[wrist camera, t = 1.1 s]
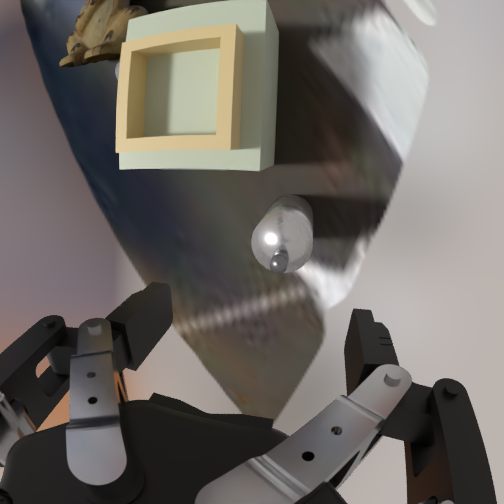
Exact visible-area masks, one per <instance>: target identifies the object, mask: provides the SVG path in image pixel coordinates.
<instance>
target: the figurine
mask: <svg viewBox="0 0 504 504" xmlns="http://www.w3.org/2000/svg"><path fill="white" fill-rule="evenodd" d="M130 3H131V0H87V1H86V2H85V4H84V5H83V7H82V9H81V12H80V15H79V16H78V17H77V19H76V31H74V32H73V33H72V34H71V35H70V36H69V38H68V40H67V49H68V54H69V55H68V56H66V57H64V58H63V59H62V60H61V61H60V63H59V64H60V67H75V66H80V65H86V64H88V63H96V62H99V61H104V60H111V59H117V58H120V57H121V48H122V43H123V42H126V36H127V29H128V22H129V20H130V19H134V18H137V17H141V16H145V15H148V12H147V10H146V9H145V8H144V7H141V6H136V5H133V6H130Z"/></svg>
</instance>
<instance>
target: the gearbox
mask: <svg viewBox="0 0 504 504" xmlns="http://www.w3.org/2000/svg"><path fill="white" fill-rule="evenodd" d="M278 53H279V31H278V28H277V26H276V23H275V20H274V17H273V14H272V12H271V9H270V6H269V4H268V1H267V0H231V1H221V2H213V3H205V4H198V5H192V6H186V7H181V8H176V9H171V10H166V11H161V12H157V13H153V14H149V15H145V16H141V17H137V18H134V19H130V20H129V22H128V29H127V36H126V42H123V43H122V48H121V57H120V62H118V64H117V65H116V69H115V74H116V77H117V79H118V93H117V113H116V153H119V160H120V169H153V168H160V169H196V170H250V171H261V170H263V169H265V168H268V167H270V166H273V165H274V155H275V133H276V109H277V83H278Z"/></svg>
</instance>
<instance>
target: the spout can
mask: <svg viewBox="0 0 504 504" xmlns="http://www.w3.org/2000/svg"><path fill="white" fill-rule="evenodd" d="M312 248H313V211H312V208H311V206H310V204H309V203H308V202H307V201H306V200H305V199H304V198H302V197H300V196H297V195H284V196H282V197H280V198H278V199H277V200H276V201H275V202H274V203H273V205H272V206H271V207H270V209H269V210H268V211H267V213H266V214H265V216H264V217H263V218H262V220H261V221H260V222H259V224H258V225H257V227H256V228H255V230H254V232H253V235H252V250H253V253H254V255H255V257H256V259H257V260H258V261H259V263H261V264H262V265H263V266H264V267H265V268H267V269H269V270H271V271H272V272H273V273H276V274H282V273H288V272H292V271H295V270H297V269H299V268H301V267H302V266H303V265H304V264H305V263H306V262H307V261H308V259H309V257H310V255H311V252H312Z"/></svg>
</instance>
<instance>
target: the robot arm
mask: <svg viewBox="0 0 504 504" xmlns="http://www.w3.org/2000/svg"><path fill="white" fill-rule="evenodd" d="M172 319H173V312H172V301H171V290H170V286H169V285H168V284H163V283H157V282H152V283H150V284H149V285H148V286H147V287H146V288H145V289H144V290H143V291H139V292H137V293H134V294H132V295H131V296H130V297H129V298H128V299H126V301H124V302H123V303H122V304H121V305H120V306H118V307H117V308H116V309H115V310H114V311H113V312H112V313H110V314H109V315H108V316H107V317H106V318H105V319H103V318H93V319H89V320H87V321H85V322H83V323H82V324H81V325H80V326H79V328H72V327H71V328H70V327H66V325H65V321H64V319H63V317H61V316H57V315H51V316H47V317H44V318H42V319H41V320H39V321H38V322H37V323H36V324H35V325H33V326H32V327H31V328H30V329H28V330H27V331H26V332H25V333H24V334H23V335H22V336H20V337H19V338H18V339H17V340H16V341H14V342H13V343H12V344H11V345H10V346H9V347H8V348H7V349H5V350H4V351H3V352H2V353H1V354H0V467H4V472H3V476H2V479H1V482H0V504H347V503H346V502H345V500H344V499H343V498H342V497H341V495H340V494H339V493H338V492H337V491H336V490H337V489H338V488H339V487H340V486H341V485H342V484H343V483H344V482H345V481H346V480H347V479H348V477H349V476H350V475H351V473H352V472H353V471H354V470H355V469H356V468H357V466H358V465H359V464H360V463H361V462H362V461H363V460H364V458H365V457H366V456H367V455H368V454H369V453H370V452H371V450H372V449H373V448H374V447H375V446H376V445H377V443H378V442H379V441H380V439H381V438H382V437H383V436H387V437H391V438H395V439H399V440H403V441H404V446H405V459H406V475H407V504H497V501H496V495H495V490H494V485H493V480H492V475H491V471H490V466H489V463H488V458H487V454H486V450H485V446H484V443H483V439H482V436H481V432H480V429H479V426H478V423H477V419H476V417H475V413H474V410H473V407H472V405H471V402H470V399H469V396H468V393H467V391H466V389H465V387H464V386H463V385H462V384H461V383H459V382H458V381H455V380H453V379H449V378H443V379H440V380H438V381H437V382H435V384H434V386H433V388H431V387H427V386H423V385H419V384H416V383H414V382H412V378H411V375H410V374H409V372H408V371H407V370H405V369H404V368H402V367H400V366H399V363H398V360H397V356H396V353H395V349H394V346H393V343H392V340H391V337H390V333H389V331H388V329H387V328H386V327H385V326H384V325H383V324H382V323H379V322H374V318H373V315H372V312H371V310H364V309H353V312H352V315H351V320H350V324H349V329H348V332H347V336H346V341H345V347H344V355H345V370H346V386H347V397H346V396H344V395H341V396H339V397H337V398H336V399H335V400H334V401H333V402H332V403H331V404H329V405H328V406H327V407H326V408H325V409H324V410H322V411H321V412H320V413H319V414H318V415H316V416H315V417H314V418H313V419H311V420H310V421H309V422H308V423H306V424H305V425H304V426H303V427H301V428H300V429H299V430H298V431H296V432H295V433H294V434H292V435H291V436H288V435H287V434H285V433H283V432H281V431H279V430H276V429H274V428H272V426H273V420H274V419H269V418H262V417H256V416H250V415H244V414H209V413H205V412H203V411H201V410H199V409H197V408H195V407H193V406H191V405H189V404H187V403H185V402H183V401H181V400H178V399H174V398H171V397H167V396H164V395H160V394H157V393H153V394H152V396H151V397H150V399H149V400H133V401H129V400H128V394H127V389H126V384H125V378H124V374H123V370H124V369H125V368H128V369H131V370H134V371H136V370H137V369H138V367H139V366H140V365H141V364H142V362H143V361H144V360H145V358H146V357H147V356H148V354H149V353H150V352H151V350H152V349H153V348H154V347H155V345H156V344H157V343H158V341H159V340H160V339H161V338H162V336H163V335H164V334H165V333H166V331H167V330H168V329H169V327H170V326H171V323H172ZM46 355H47V358H48V360H49V363H50V366H49V367H48V368H47V369H46V370H45V371H44V372H43V373H42V374H41V376H40V377H39V378H37V376H36V367H37V365H38V363H39V362H40V361H41V360H42V359H43V358H44V357H45V356H46ZM69 389H70V393H69V394H70V395H69V397H70V398H69V399H70V400H69V411H70V412H69V413H70V414H69V415H70V421H69V422H67V423H64V424H61V425H58V426H55V427H52V428H49V429H45V430H42V431H39V432H36V431H37V429H38V428H39V427H40V426H41V424H42V423H43V422H44V420H45V419H46V418H47V417H48V415H49V414H50V413H51V412H52V410H53V409H54V408H55V406H56V405H57V404H58V403H59V402H60V400H61V399H62V398H63V396H64V395H65V394H66V393H67V392H68V390H69Z"/></svg>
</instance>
